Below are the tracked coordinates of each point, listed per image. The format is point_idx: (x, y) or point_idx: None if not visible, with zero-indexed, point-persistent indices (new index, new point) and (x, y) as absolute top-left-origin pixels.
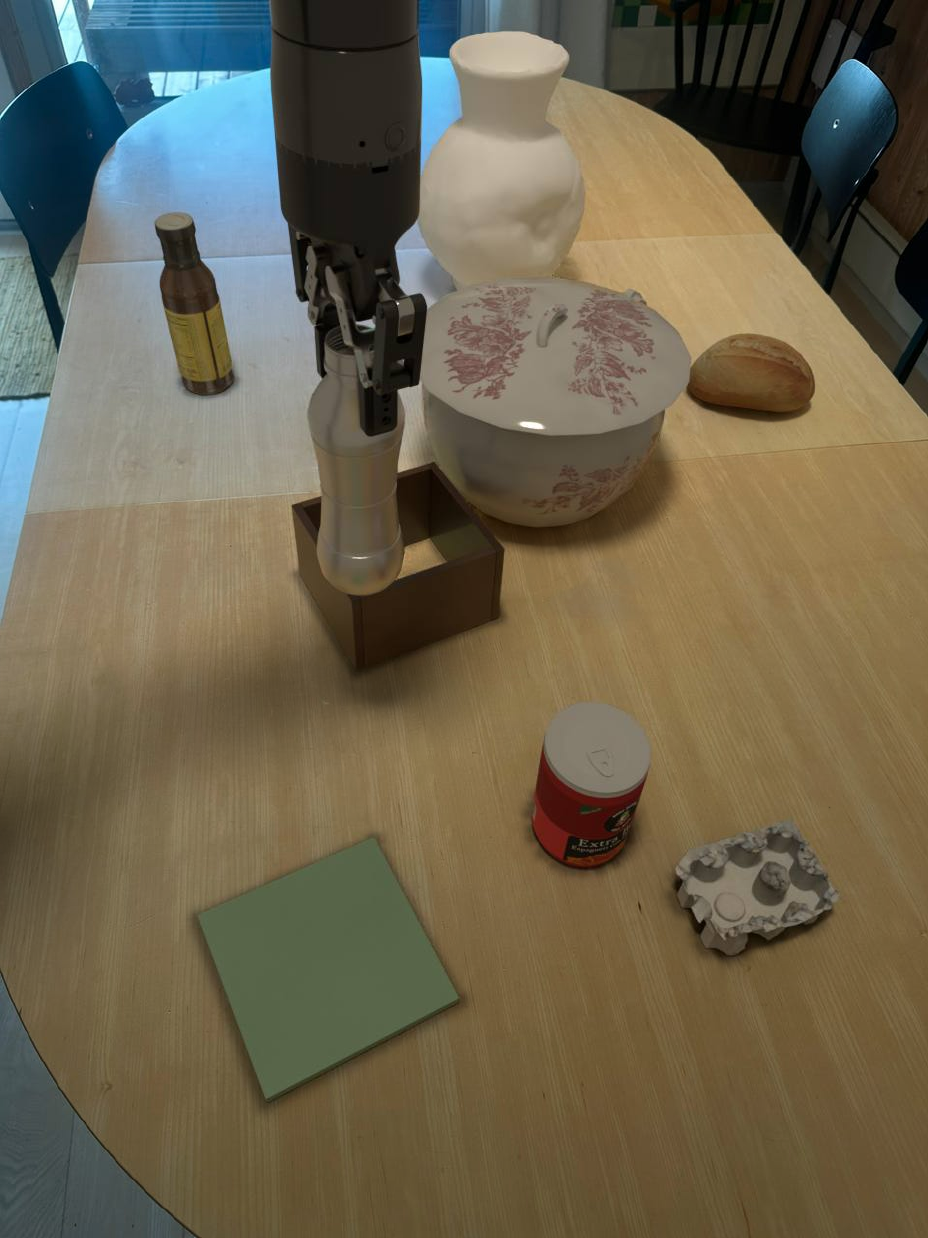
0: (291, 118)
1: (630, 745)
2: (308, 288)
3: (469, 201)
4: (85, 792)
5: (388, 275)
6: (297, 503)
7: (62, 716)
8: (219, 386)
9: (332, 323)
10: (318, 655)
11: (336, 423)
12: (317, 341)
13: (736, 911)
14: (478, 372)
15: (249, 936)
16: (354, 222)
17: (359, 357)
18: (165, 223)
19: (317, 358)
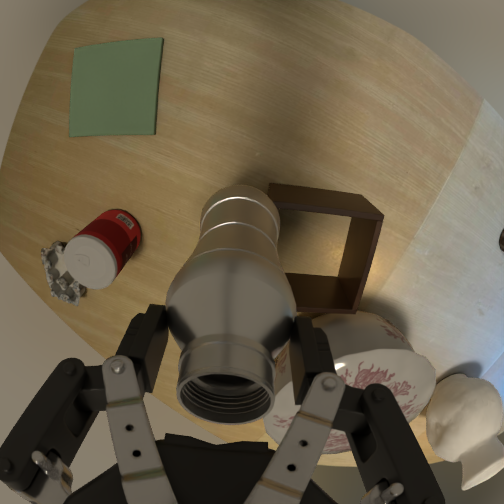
0: None
1: (86, 277)
2: (309, 436)
3: (470, 416)
4: (274, 13)
5: None
6: (382, 219)
7: (335, 24)
8: (501, 239)
9: (305, 392)
10: (294, 169)
11: (187, 286)
12: (310, 355)
13: (64, 261)
14: (361, 381)
15: (137, 57)
16: None
17: (120, 391)
18: None
19: (309, 333)
